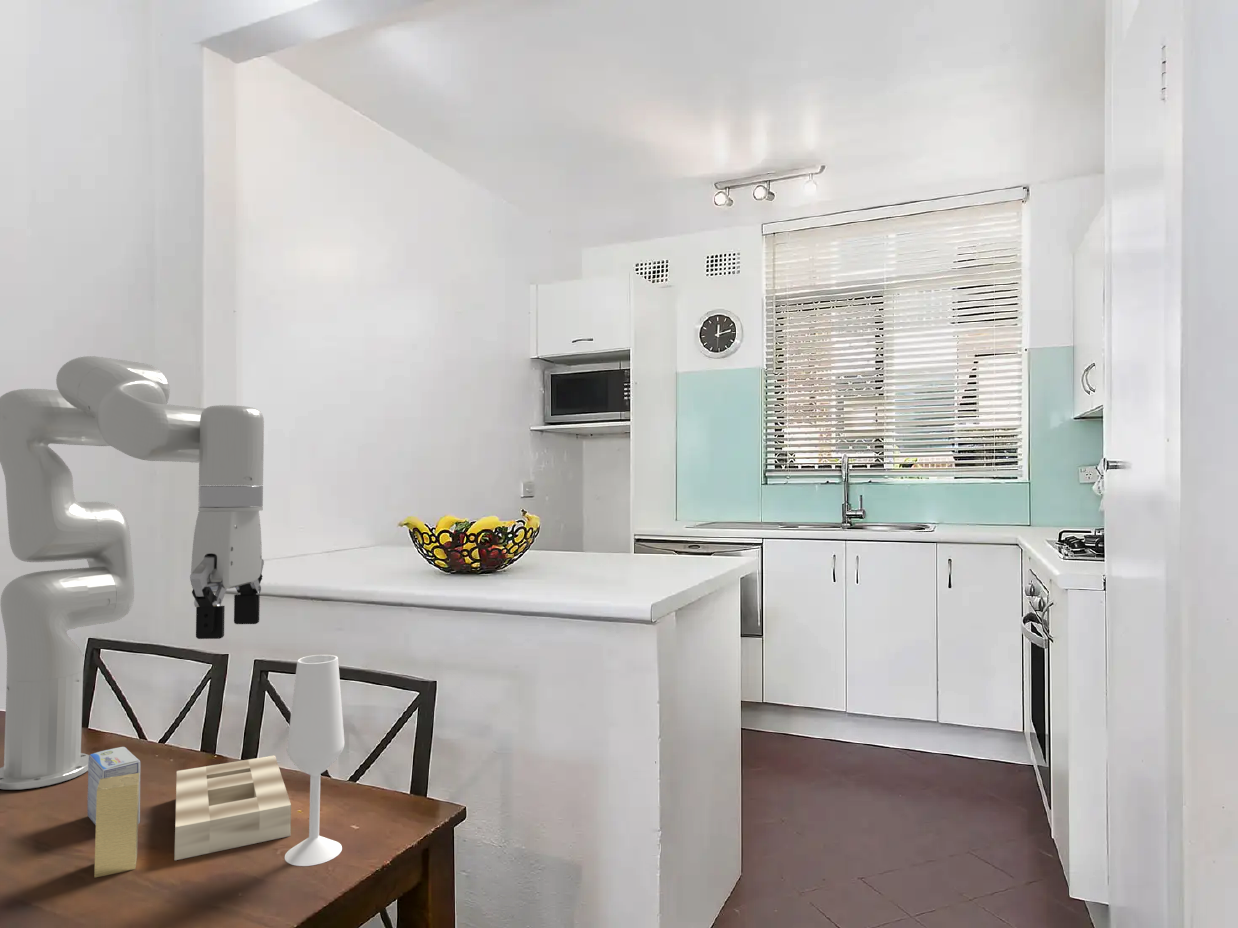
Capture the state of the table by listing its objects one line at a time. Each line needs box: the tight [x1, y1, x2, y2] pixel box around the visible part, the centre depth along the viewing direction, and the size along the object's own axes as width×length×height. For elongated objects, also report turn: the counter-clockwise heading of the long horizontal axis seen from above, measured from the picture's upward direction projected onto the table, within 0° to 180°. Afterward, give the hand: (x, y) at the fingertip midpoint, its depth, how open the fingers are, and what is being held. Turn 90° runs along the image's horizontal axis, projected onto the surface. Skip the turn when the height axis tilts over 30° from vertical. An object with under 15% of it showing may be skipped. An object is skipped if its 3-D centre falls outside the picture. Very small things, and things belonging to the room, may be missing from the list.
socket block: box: [174, 755, 292, 861], centre depth 102 cm, size 20×13×4 cm, turn 30°
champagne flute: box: [284, 654, 345, 867], centre depth 93 cm, size 7×7×24 cm
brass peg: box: [93, 773, 139, 878], centre depth 89 cm, size 4×4×10 cm
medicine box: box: [87, 746, 141, 826], centre depth 101 cm, size 8×4×9 cm, turn 47°
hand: (229, 630), depth 97 cm, fingers open, 9 cm apart
